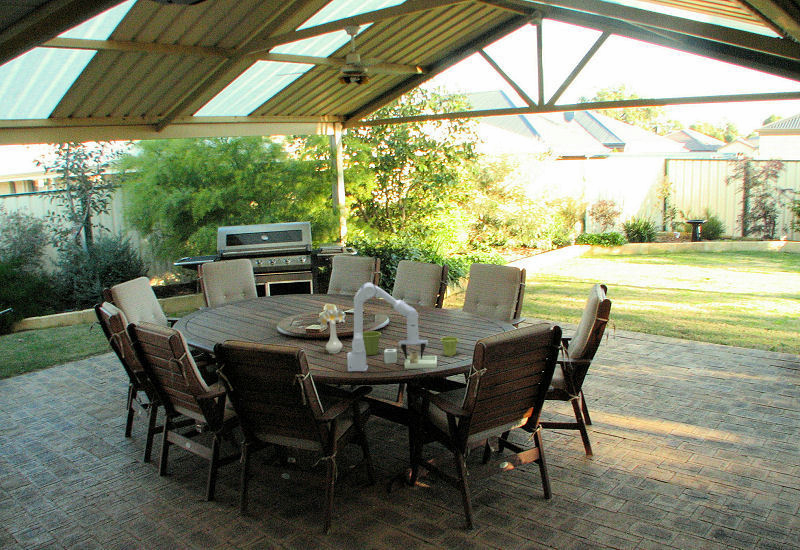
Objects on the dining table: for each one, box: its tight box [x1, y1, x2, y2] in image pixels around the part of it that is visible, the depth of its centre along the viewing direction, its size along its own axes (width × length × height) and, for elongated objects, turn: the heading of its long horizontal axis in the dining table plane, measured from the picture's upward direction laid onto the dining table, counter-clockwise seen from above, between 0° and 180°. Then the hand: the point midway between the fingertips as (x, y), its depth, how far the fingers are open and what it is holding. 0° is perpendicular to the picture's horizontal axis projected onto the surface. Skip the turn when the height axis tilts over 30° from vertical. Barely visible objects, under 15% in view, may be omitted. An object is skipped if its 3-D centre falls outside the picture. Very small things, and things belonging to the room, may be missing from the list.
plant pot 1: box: [363, 331, 382, 356], centre depth 343 cm, size 12×12×11 cm
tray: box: [404, 355, 438, 370], centre depth 319 cm, size 16×14×2 cm
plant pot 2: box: [440, 336, 459, 357], centre depth 335 cm, size 9×9×9 cm
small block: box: [409, 351, 419, 364], centre depth 318 cm, size 4×4×6 cm
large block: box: [383, 348, 398, 364], centre depth 327 cm, size 6×6×6 cm
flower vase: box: [316, 306, 347, 355], centre depth 348 cm, size 13×18×25 cm
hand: (413, 358), depth 318 cm, fingers open, 7 cm apart
